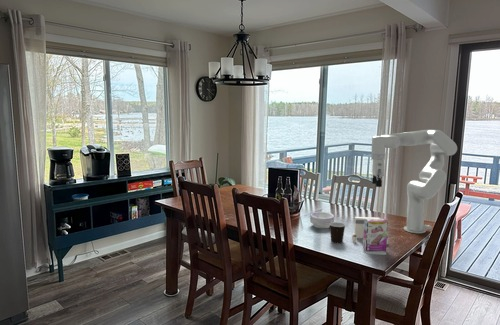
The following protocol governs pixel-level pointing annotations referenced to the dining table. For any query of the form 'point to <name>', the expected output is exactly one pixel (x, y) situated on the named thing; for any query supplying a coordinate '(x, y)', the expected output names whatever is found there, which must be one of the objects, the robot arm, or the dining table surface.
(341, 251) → the dining table surface
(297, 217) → the dining table surface
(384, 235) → the candy bar box
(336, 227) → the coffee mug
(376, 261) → the dining table surface
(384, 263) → the dining table surface
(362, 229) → the dispenser
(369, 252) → the pad
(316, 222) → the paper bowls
